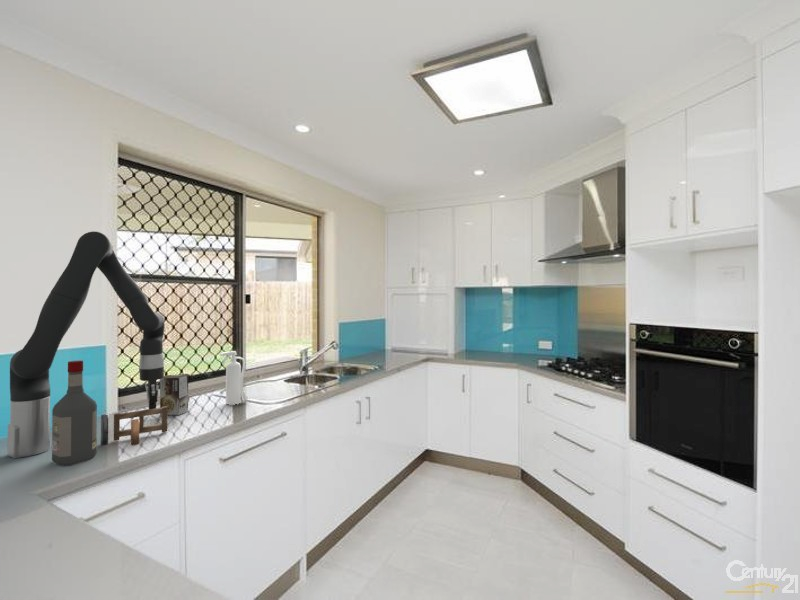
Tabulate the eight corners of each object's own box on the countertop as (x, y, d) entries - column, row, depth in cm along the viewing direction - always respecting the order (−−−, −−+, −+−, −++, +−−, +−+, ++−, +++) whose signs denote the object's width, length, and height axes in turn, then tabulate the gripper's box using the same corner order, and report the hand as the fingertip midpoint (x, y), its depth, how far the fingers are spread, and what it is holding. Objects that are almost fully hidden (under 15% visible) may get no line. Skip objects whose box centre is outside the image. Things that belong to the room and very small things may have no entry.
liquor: (62, 468, 111) (63, 364, 111) (49, 461, 116) (50, 362, 116) (99, 457, 119) (100, 360, 119) (85, 451, 124) (86, 358, 124)
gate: (113, 440, 132) (113, 414, 132) (113, 439, 133) (113, 413, 133) (167, 431, 141) (167, 407, 141) (166, 430, 143) (166, 406, 143)
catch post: (132, 445, 129) (133, 421, 129) (129, 444, 130) (129, 420, 130) (140, 443, 131) (140, 420, 131) (137, 442, 132) (137, 418, 132)
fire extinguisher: (248, 403, 182) (247, 350, 182) (220, 406, 178) (219, 352, 178) (249, 400, 188) (248, 349, 188) (222, 403, 184) (221, 351, 185)
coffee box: (188, 411, 169) (189, 374, 169) (179, 415, 163) (179, 377, 163) (169, 410, 170) (169, 374, 170) (159, 414, 164) (159, 377, 164)
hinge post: (102, 445, 129) (102, 415, 129) (99, 444, 130) (99, 414, 130) (109, 443, 130) (109, 414, 130) (106, 442, 131) (106, 413, 131)
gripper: (165, 367, 138) (166, 415, 138) (161, 362, 149) (162, 407, 149) (140, 370, 134) (141, 419, 134) (138, 364, 144) (139, 410, 144)
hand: (152, 413), depth 141 cm, fingers closed
